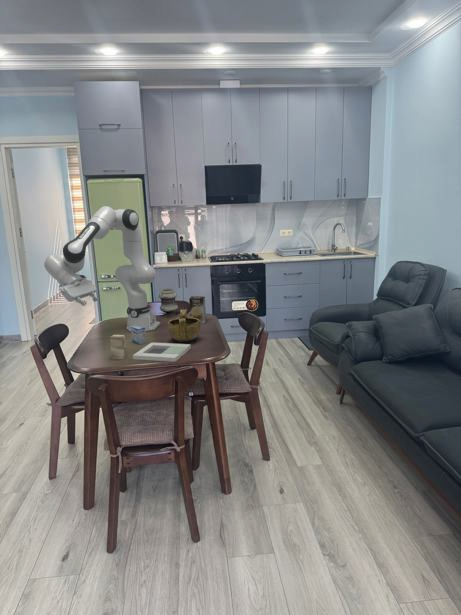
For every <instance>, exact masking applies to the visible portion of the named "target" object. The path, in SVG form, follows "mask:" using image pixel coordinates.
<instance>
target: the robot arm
mask: <svg viewBox="0 0 461 615" xmlns="http://www.w3.org/2000/svg"><path fill="white" fill-rule="evenodd" d="M139 222H140V221H139V215H138V213H137V212H136V211H135V210H133V209H130V208H127V209H126V208H118V209H113V208H112V207H111V206H105V205H104V206H101V207H100V208H99V209H98V210H97V211H96V212H95V213H94V214H92V216H91V218H90V219H89V221H88V222H87V223H86V225H85V226H84V227H83V229H82V230H81V231H80V232H79V233H78V235H76V237H74V238H73V239H72V240H69V241H68V242H67V243H66V244H64V246H63V247H62V254H54V253H52V254H50V255H48V256H47V257H46V259H45V261H44V264H43V265H44V266H43V267H44V269H45V270H46V272H47V273H48V274H49V275H50V276H51V277H52V278H53V279H54V280H56V281H57V283H58V284H59V285H58V290H59V291H60V293H61V295H62V296H63V297H64V299H65V300H66V301H67V302H69V303H71V302H74V301H75V302H76V303H77V304H80V305H81V306H82V307H84V306H86V305H87V302H86V301H85V300H83V298H86V297H87V298H88V297H90V298H91V299H92V301H93V302H94V303H95V302H97V301H98V300H99V298H98V297H97V295H96V292H97V287H96V286H95V285H94V283H92V282H91V281H90V280H89V279H87V278H88V277H87V276H86V275H84V274H79V272H80V271H82V269H83V268H84V267H85V256H86V252H87V251H86V250H87V247H88V245H89V244H90V243H91V242H92V241H93V239H95V240H102V239H104V238H105V237H106V236H107V234H108V233H109V232H110V231H111V230H112V231H114V230H118V231H121V233H122V234H121V235H122V238H121V239H122V245H123V246H122V248H123V255H124V257H125V258H127V259H128V260H130V263H131V264H124V265H123V264H122V265H119V266H117V268H116V269H115V271H114V276H115V279H116V280H117V282H118V283H120V284H121V285H122V287H123V288H124V291H125V292H126V297H127V302H128V307H127V308H128V309H127V311H128V315H127V326H126V327H125V329H126V330H128V331H129V332H131V327H132V326H141V327H144V328H145V331H146V332H148V331H154V330H156V328H158V327H159V326H160V324H161V322H160V321H158V320H157V317H156V315H155V313H153V312H152V311H151V308H152V305H151V304H148V296H147V292H146V291H145V290H144V289H142V288H141V286H140V284H141V285H146V284H151V283H153V282H154V280H156V274H157V273H156V270H155V268H154V267H153V266H152V265H151V264H150V263H149V262H148V260H147V259H146V256H145V252H144V247H143V246H144V245H143V237H142V230H141V227H140V224H139Z"/></svg>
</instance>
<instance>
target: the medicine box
mask: <svg viewBox="0 0 461 615" xmlns="http://www.w3.org/2000/svg"><path fill="white" fill-rule="evenodd" d="M146 332H147V331H145V328H144V327H141V326H132V327H131V335H130V336H131V342H132V343H134V344H138V345H144V344H147V333H146Z"/></svg>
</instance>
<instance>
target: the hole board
mask: <svg viewBox="0 0 461 615" xmlns="http://www.w3.org/2000/svg"><path fill="white" fill-rule="evenodd" d="M191 349H192V344H187V343H169V342H150V343H149V344H147V345H146V346H144V347H143V348H141V349H140V350H138V351H137V352H136V353H134V354H132V359H133V360H140V361H152V362H153V361H156V362H172V363H173V362H174V363H176V362H177V361H179V359H180V358H181V356H182V357H183V356H184V355H185V354H186V353H187V352H188V351H190V350H191Z"/></svg>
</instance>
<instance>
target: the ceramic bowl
mask: <svg viewBox="0 0 461 615" xmlns="http://www.w3.org/2000/svg"><path fill="white" fill-rule="evenodd" d="M167 323H168V325H167V326H168V327H167V328H168V332H169V335H170V336H171V338H172V339H173V340H175V341H177V342H179V343H187V342H190V341H193V340H194V339H195V338H197V336H198V335H199V334H200V331H201V323H200V322H199V319H197V318H190V317H189V316H188V314H187V309H186V308H185V309H180V314H179V317H178V318H174V319H170V320H169V321H168V322H167Z"/></svg>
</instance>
